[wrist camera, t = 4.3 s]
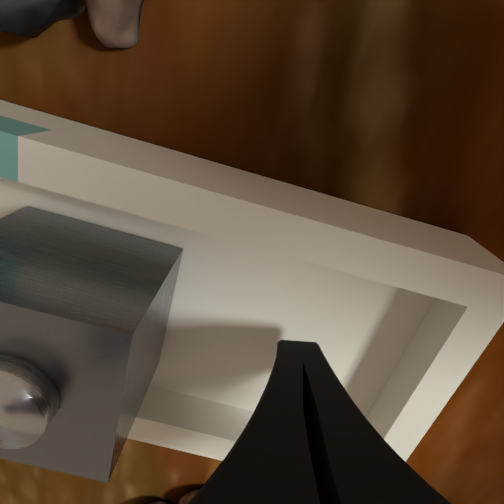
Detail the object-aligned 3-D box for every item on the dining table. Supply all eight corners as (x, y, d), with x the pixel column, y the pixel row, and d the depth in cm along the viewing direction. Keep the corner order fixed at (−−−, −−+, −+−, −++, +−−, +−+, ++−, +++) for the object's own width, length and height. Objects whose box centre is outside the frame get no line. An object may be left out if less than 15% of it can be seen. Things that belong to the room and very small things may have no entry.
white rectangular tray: (467, 235, 13) (531, 282, 10) (337, 461, 18) (350, 540, 15) (-158, 54, 12) (-322, 38, 8) (-102, 354, 17) (-189, 415, 14)
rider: (183, 248, 11) (121, 355, 7) (158, 364, 13) (97, 507, 9) (27, 205, 11) (-149, 287, 6) (26, 330, 13) (-109, 460, 9)
